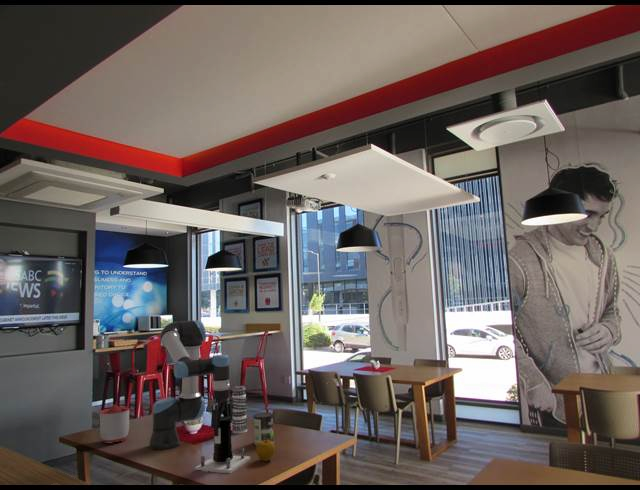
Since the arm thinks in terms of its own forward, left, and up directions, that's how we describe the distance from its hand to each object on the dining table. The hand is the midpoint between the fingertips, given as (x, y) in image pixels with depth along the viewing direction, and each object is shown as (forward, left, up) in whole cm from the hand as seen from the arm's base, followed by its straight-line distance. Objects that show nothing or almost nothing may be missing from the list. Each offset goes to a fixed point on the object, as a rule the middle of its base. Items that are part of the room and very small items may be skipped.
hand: (222, 440), depth 213 cm
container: (0, 0, -8) cm, 8 cm away
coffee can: (+4, +34, -11) cm, 36 cm away
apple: (+17, +9, -11) cm, 22 cm away
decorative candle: (-20, +52, -11) cm, 57 cm away
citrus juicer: (-83, +23, -11) cm, 87 cm away
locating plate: (0, 0, -11) cm, 11 cm away
